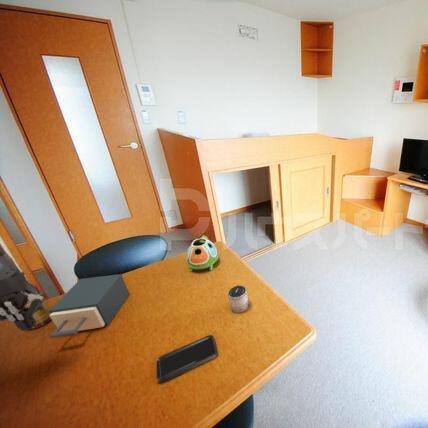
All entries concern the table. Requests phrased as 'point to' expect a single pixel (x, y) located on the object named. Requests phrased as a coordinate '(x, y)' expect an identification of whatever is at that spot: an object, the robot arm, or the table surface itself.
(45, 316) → the sauce bottle
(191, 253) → the turtle holder
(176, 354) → the phone
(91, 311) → the drawer
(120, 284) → the cabinet
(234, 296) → the camera lens
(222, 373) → the table surface
